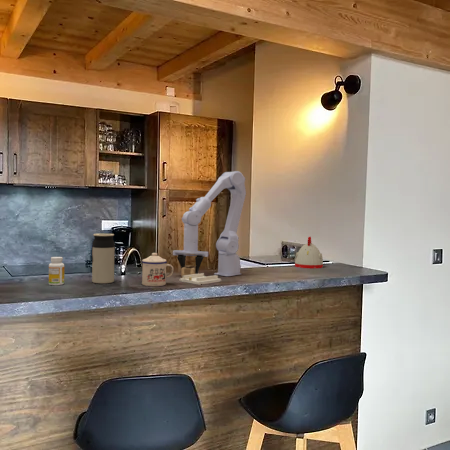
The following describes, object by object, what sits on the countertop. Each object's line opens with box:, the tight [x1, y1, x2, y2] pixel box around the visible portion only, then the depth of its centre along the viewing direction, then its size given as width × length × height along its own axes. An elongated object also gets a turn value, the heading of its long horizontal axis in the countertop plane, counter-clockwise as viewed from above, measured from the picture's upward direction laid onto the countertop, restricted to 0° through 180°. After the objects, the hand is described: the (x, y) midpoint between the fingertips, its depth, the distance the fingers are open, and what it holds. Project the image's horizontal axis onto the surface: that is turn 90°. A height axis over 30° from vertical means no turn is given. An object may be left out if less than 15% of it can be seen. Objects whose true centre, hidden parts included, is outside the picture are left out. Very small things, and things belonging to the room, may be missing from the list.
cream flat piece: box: [178, 272, 222, 286], centre depth 191 cm, size 12×11×2 cm
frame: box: [180, 265, 200, 278], centre depth 202 cm, size 9×5×4 cm, turn 169°
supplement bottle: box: [48, 256, 65, 286], centre depth 177 cm, size 5×5×10 cm
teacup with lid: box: [141, 252, 174, 287], centre depth 182 cm, size 12×9×12 cm
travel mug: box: [91, 233, 116, 285], centre depth 184 cm, size 8×8×18 cm
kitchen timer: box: [294, 236, 324, 269], centre depth 246 cm, size 14×14×15 cm
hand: (190, 273), depth 202 cm, fingers closed on frame, 5 cm apart
